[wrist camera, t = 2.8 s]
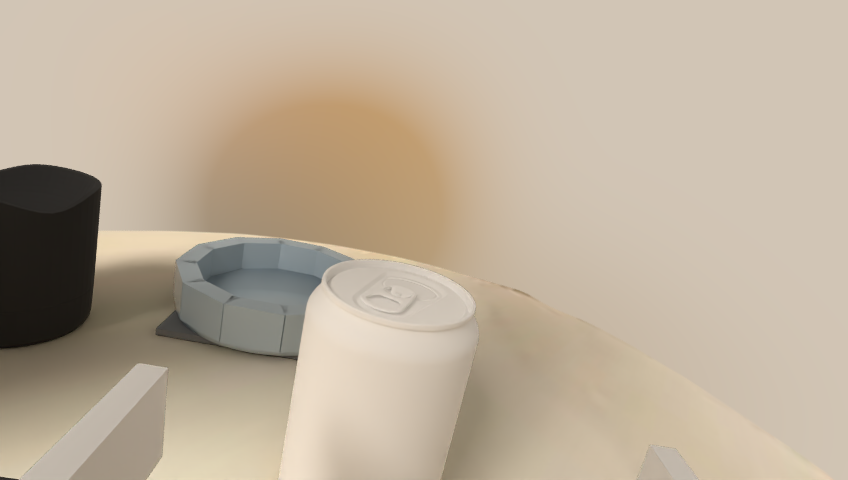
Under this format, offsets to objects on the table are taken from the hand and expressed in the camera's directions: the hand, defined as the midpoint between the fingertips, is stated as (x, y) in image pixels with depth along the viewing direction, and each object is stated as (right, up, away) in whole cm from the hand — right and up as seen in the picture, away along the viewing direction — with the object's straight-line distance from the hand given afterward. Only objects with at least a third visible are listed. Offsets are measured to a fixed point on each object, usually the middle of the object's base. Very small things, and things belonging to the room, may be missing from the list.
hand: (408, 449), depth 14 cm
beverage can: (-3, -8, +13) cm, 16 cm away
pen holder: (-28, 0, +22) cm, 35 cm away
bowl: (-12, 0, +30) cm, 33 cm away
